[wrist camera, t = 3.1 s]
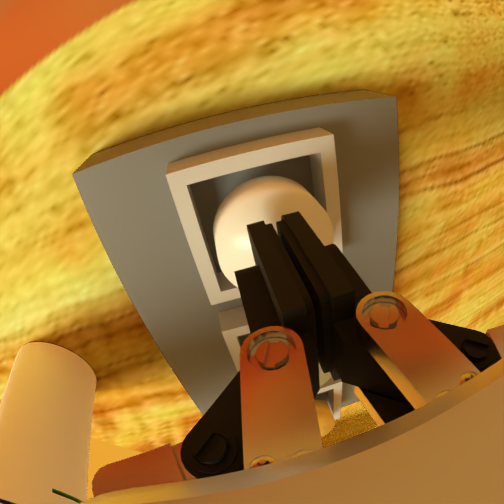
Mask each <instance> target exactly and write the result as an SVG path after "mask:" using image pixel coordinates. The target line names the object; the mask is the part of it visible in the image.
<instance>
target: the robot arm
mask: <svg viewBox="0 0 504 504" xmlns="http://www.w3.org/2000/svg"><path fill="white" fill-rule="evenodd" d="M276 227H277V232H276V230H275V229H274V227H273V225H272V223H270V224H265V222H264V221H259V222H256V223H252V224H248V225H247V231H248V235H249V240H250V244H251V248H252V252H253V257H254V261H255V265H256V266H252V267H249V268H245V269H241V270H238V271H234V273H235V277H236V281H237V285H238V289H239V292H240V296H241V300H242V304H243V307H244V311H245V315H246V319H247V322H248V326H249V330H250V333H251V334H250V335H249V336H248V337H247V338H246V339H245V340H244V342H243V344H242V346H241V349H240V370H239V372H238V373H237V374H236V375H235V377H234V378H233V379H232V380H231V382H230V383H229V384H228V386H227V387H226V388H225V389H224V391H223V392H222V393H221V394H220V396H219V397H218V398H217V399H216V401H215V402H214V403H213V404H212V406H211V407H210V408H209V409H208V410H207V412H206V413H205V414H204V415H203V417H202V418H201V419H200V420H199V421H198V423H197V424H196V425H195V426H194V427H193V429H192V430H191V431H190V432H189V433H188V435H187V436H186V438H185V439H184V441H183V442H181V443H179V444H176V445H173V446H172V445H171V444H170V443H169V444H167V445H164V446H161V447H158V448H156V449H153V450H150V451H147V452H144V453H142V454H139V455H136V456H133V457H130V458H127V459H124V460H121V461H117V462H114V463H111V464H108V465H106V466H104V467H102V468H100V469H99V470H98V471H97V472H96V474H95V475H94V478H93V481H92V491H93V495H94V497H93V498H90V499H87V500H85V501H83V502H81V503H79V504H504V325H502V326H498V327H495V328H492V329H488V330H487V332H486V334H484V333H482V332H479V331H476V330H472V329H467V328H463V327H459V326H455V325H450V324H446V323H442V322H438V321H433V320H429V319H427V318H426V317H425V316H424V315H423V314H422V313H421V312H420V311H419V310H418V309H417V308H416V307H415V306H413V305H412V304H411V303H410V302H409V301H408V300H407V299H406V298H404V297H403V296H401V295H399V294H397V293H394V292H388V291H380V292H374V293H372V292H371V291H370V290H369V288H368V287H367V285H366V284H365V283H364V281H363V280H362V279H361V277H360V276H359V275H358V273H357V272H356V271H355V269H354V268H353V267H352V265H351V264H350V263H349V261H348V260H347V259H346V257H345V256H344V255H343V253H342V252H341V251H340V249H339V248H338V247H337V246H336V245H335V244H330V245H326V246H324V245H323V243H322V242H321V241H320V239H319V238H318V237H317V235H316V234H315V232H314V231H313V230H312V228H311V227H310V226H309V224H308V223H307V222H306V220H305V219H304V217H303V216H302V215H301V213H300V212H299V211H297V212H293V213H289V214H286V215H282V216H281V221H277V222H276ZM277 233H278V234H277ZM319 364H320V366H321V369H322V371H323V372H324V373H328V372H330V373H331V376H332V378H333V380H334V381H335V380H338V379H341V381H342V382H344V383H347V384H350V385H351V386H352V389H353V391H354V393H355V394H356V396H357V397H358V399H359V400H360V401H361V403H362V404H363V406H364V407H365V408H366V410H367V411H368V413H369V414H370V416H371V417H372V418H373V420H374V421H375V423H376V424H377V426H378V427H377V428H375V429H372V430H370V431H367V432H365V433H362V434H360V435H357V436H355V437H352V438H350V439H347V440H344V441H342V442H339V443H336V444H333V445H330V446H328V447H325V448H323V444H322V439H321V433H320V428H319V422H318V417H317V412H316V407H315V401H314V399H315V397H316V395H317V393H318V392H319V390H320V382H319Z"/></svg>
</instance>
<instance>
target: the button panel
mask: <svg viewBox="0 0 504 504" xmlns="http://www.w3.org/2000/svg"><path fill="white" fill-rule="evenodd" d="M72 175H73V178H74V180H75V183H76V185H77V188H78V190H79V192H80V195H81V197H82V200H83V202H84V204H85V207H86V209H87V211H88V214H89V216H90V218H91V220H92V223H93V225H94V227H95V229H96V231H97V234H98V236H99V238H100V240H101V242H102V244H103V246H104V248H105V251H106V253H107V255H108V257H109V259H110V261H111V263H112V265H113V267H114V269H115V271H116V273H117V275H118V277H119V278H120V280H121V282H122V284H123V286H124V288H125V290H126V292H127V294H128V295H129V297H130V299H131V301H132V303H133V305H134V306H135V308H136V310H137V312H138V314H139V315H140V317H141V319H142V321H143V322H144V324H145V326H146V327H147V329H148V331H149V333H150V334H151V336H152V338H153V339H154V341H155V343H156V344H157V346H158V348H159V349H160V351H161V352H162V354H163V356H164V357H165V359H166V360H167V362H168V364H169V365H170V367H171V368H172V370H173V371H174V373H175V374H176V376H177V378H178V379H179V381H180V382H181V384H182V385H183V387H184V388H185V390H186V391H187V392H188V394H189V395H190V397H191V398H192V400H193V401H194V403H195V404H196V405H197V407H198V408H199V410H200V411H201V413H202V414H203V415H204V414H205V413H206V412H207V410H208V409H209V408H210V407H211V406H212V404H213V403H214V402H215V401H216V399H217V398H218V397H219V396H220V394H221V393H222V392H223V391H224V389H225V388H226V387H227V386H228V384H229V383H230V382H231V380H232V379H233V378H234V377H235V375H236V374H237V373H238V372H239V370H240V349H241V346H242V344H243V342H244V340H245V339H246V338H247V337H248V336H249V335H250V334H251V333H250V330H249V326H248V322H247V319H246V315H245V311H244V307H243V304H242V300H241V296H240V292H239V289H238V287H236V286H235V285H233V284H232V283H231V282H230V281H229V280H228V279H227V278H226V276H225V275H224V273H223V272H222V270H221V267H220V265H219V261H218V257H217V251H216V246H215V240H214V235H213V224H214V218H215V215H216V212H217V209H218V207H219V206H220V204H221V202H222V201H223V200H224V198H225V197H226V196H227V195H228V194H229V193H230V192H231V191H232V190H233V189H234V188H236V187H237V186H239V185H240V184H242V183H244V182H246V181H248V180H250V179H253V178H256V177H261V176H282V177H286V178H289V179H292V180H294V181H296V182H298V183H299V184H301V185H302V186H303V187H304V188H305V189H306V190H307V191H308V192H309V193H310V194H311V195H312V196H313V197H314V198H315V199H316V200H317V202H318V203H319V204H320V205H321V206H322V207H323V208H324V209H325V211H326V212H327V214H328V216H329V218H330V220H331V223H332V226H333V244H335V245H336V246H337V247H338V248H339V249H340V251H341V252H342V253H343V255H344V256H345V257H346V259H347V260H348V261H349V263H350V264H351V265H352V267H353V268H354V269H355V271H356V272H357V273H358V275H359V276H360V277H361V279H362V280H363V281H364V283H365V284H366V285H367V287H368V288H369V290H370V291H371V292H372V293H374V292H380V291H388V292H392V291H393V282H394V272H395V261H396V249H397V233H398V212H399V138H398V118H397V103H396V97H395V96H390V95H386V94H382V93H377V92H372V91H368V90H355V91H346V92H337V93H330V94H322V95H315V96H309V97H302V98H296V99H290V100H284V101H279V102H274V103H268V104H263V105H258V106H254V107H249V108H244V109H240V110H235V111H231V112H227V113H223V114H219V115H215V116H211V117H207V118H203V119H199V120H196V121H192V122H188V123H185V124H181V125H178V126H174V127H171V128H168V129H164V130H161V131H158V132H155V133H152V134H149V135H145V136H142V137H139V138H136V139H133V140H131V141H128V142H125V143H122V144H119V145H116V146H114V147H111V148H108V149H106V150H103V151H100V152H98V153H95V154H93V155H91V156H90V157H89V158H88V159H87V160H86V161H85V162H84V163H83V164H82V165H81V166H80V167H79V168H78V169H77V170H76V171H75V172H74V173H73V174H72ZM314 400H323V401H325V402H327V403H328V405H329V407H330V410H331V412H332V415H333V417H334V420H337V419H340V414H341V407H344V406H347V405H350V404H352V403H355V402H357V401H360V400H359V399H358V397H357V396H356V394H355V393H354V391H353V389H352V386H351V385H350V384H347V383H344V382H342V381H341V379H338V380H335V381H334V380H333V378H332V376H331V378H330V379H329V380H328V381H327V382H325V383H324V384H323V385H321V386H320V390H319V392H318V393H317V395H316V397H315V399H314Z"/></svg>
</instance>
